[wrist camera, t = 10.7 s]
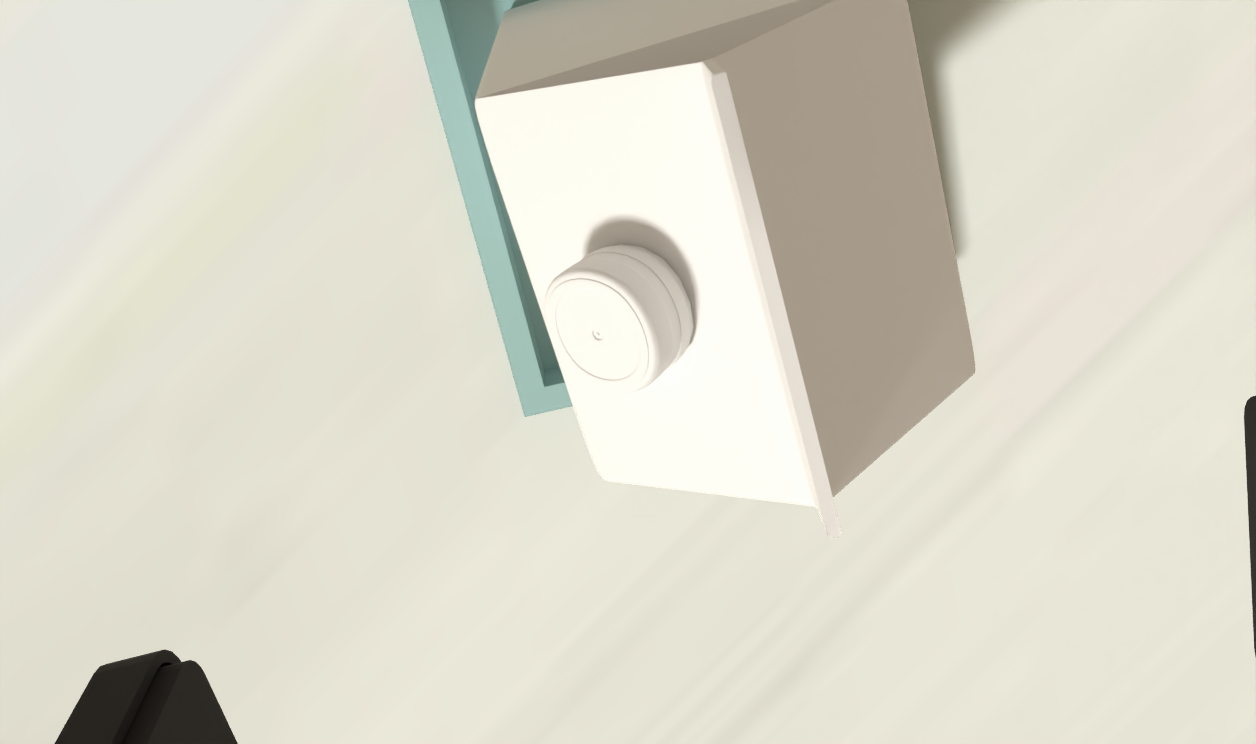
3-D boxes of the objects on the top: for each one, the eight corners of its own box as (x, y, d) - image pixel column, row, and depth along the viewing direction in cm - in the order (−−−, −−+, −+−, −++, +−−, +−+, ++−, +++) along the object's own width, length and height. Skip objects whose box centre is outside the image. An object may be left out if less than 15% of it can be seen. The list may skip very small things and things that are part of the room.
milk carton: (751, -67, 33) (991, -12, 15) (809, 180, 35) (1069, 473, 18) (501, 9, 33) (449, 152, 15) (577, 249, 36) (606, 603, 18)
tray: (377, -149, 32) (365, -151, 30) (817, -255, 32) (836, -265, 30) (526, 388, 38) (524, 416, 36) (896, 303, 38) (916, 327, 36)
